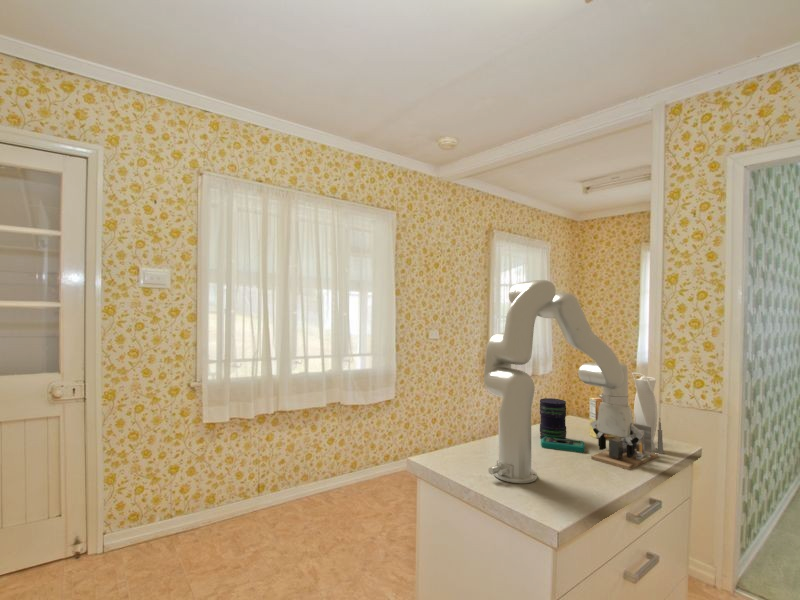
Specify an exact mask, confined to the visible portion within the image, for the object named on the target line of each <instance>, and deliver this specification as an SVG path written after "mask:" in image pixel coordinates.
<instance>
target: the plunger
mask: <svg viewBox="0 0 800 600" xmlns="http://www.w3.org/2000/svg"><path fill="white" fill-rule="evenodd" d="M627 445H628V442H627V441H626V439H625V440H621V439H618V438H615V437H612V438H610V439H608V450H609V457H613V458H616V459H620V458H622V457H623V453H627ZM634 447H635V449H637V445H636V444H634ZM634 455H637V451H635V454H634Z"/></svg>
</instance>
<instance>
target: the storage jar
mask: <svg viewBox="0 0 800 600" xmlns="http://www.w3.org/2000/svg"><path fill="white" fill-rule="evenodd" d="M539 415H540V423H539V434H540V436H539V439H540V440H541V439H542V438H544V437H550V438H558V439H566V440H567V426H566V417H567V401H566V400H564V399H559V398H553V397H552V398H551V397H550V398H548V397H546V398H540V399H539Z"/></svg>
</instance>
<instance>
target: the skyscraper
mask: <svg viewBox="0 0 800 600" xmlns="http://www.w3.org/2000/svg"><path fill="white" fill-rule="evenodd" d="M631 375H632V378H633V381H634V387H635V390H636V392H635V397H634V403H633V419H634V420H633V421H634V424H639V425H644V426H649V427H651V447H652V453H659V454H658V455H665V453H664V442H663V429H662V422H661V417H659V419H658V407H657V405H658V404H657V401H656V396H655V393H654V391H655V386H656V381H657V379H656V378H655V377H651V376H646V375H644V374H643V373H640V372H632V373H631ZM635 375H639V376H640V377H639V378H636V377H635ZM658 420H659V422H658ZM657 427H658V429H657ZM656 431H657V447H656V444H655V442H654V441H655V435H656Z"/></svg>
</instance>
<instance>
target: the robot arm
mask: <svg viewBox="0 0 800 600" xmlns="http://www.w3.org/2000/svg"><path fill="white" fill-rule="evenodd" d="M508 299H509V300H508V301H510V303H511V305H510V306H509V308H508V310H507V312H506V316H505V324H504V331H503V332H498V333H495V334H494V335H492V336H491V337H490V339H489V340H488V341H487V344H486V347H485V348H486V349H485V357H484V358H485V359H484V371H483V372H484V374H483V381H484V386H485V389H486V390H487V392H488V393H490V394H491V395H493V396H495V397H498V398H502V400H501V404H500V407H499V410H498V419H497V420H498V460H496V465H494V466H490V467H489V468H488V470H487V471H488V474H490V475H491V476H492V475H494V476H495V477H496V478H497V479H499V480H501V481H504V482H507V483H512V484H530V483H533V482H535V481H537V479H538V474H537V472H536V471H535V470H534V469H532V410H533V409H532V407H533V401H534V395H535V389H536V387H535V383H534V380H533V377H532V376H530V374H529V373H527V372H525V371H523V370H521V369H516V368H512V365H515V366H516V365H517V366H524V365H526V364H528V363H529V362H530V361H531V359H532V355H533V343H534V342H533V341H534V332H535V331H534V330H535V323H536V319H537V317H539V318H543V319H555V321H556V322H557V324H558V327H559V328H560V330H561V333H562V335H563V338H564V339H565V341H566V343H567V344H568V345H570V346H571V347H572V348H574V349H576V350H578V351H580V352H582V353H583V354H585V355H586V356H588V357H589V358H590V359H591V360H592V361H594V362H591V361H588V362H585V363H583V364H581V365H580V366H579V368H578V370H577V375H578V379H579V380H580V381H581V382H582V383H583V384H585V385H589V386H594V387H600V388H602V394H601V393H600V394H599V396H598V398H602V401H603V402H601V403H600V406H599V412H598V420H596V421H593V422H591V423H590V422H589V425H590V424H591V426H592V428H593V431H594V432H595V433H596V435H597V437H598V438H597V439H598V441H597V443H598V448H599V450H600V451H603V450H605V449H607V437H604V435H605V434H608V435H613V436H615V437H618V438H620V439H621V438H625V439H626V441H627V442H628V445H627V457H628V458H630V457H632V456H633V455H634V454H635V447H634V444H636V443H637V442H638V441H640V439H641V438H642V436H643V435H644V434H643V433H642V432H641V431H640V430H638V429H637V428H636V427H635V426H633V423H634V420H633V419H634V416H633V412H632V409H631V406H630V405H629V381H628V380H629V378H628V377H629V376H628V374H629V373H628V365H627V364H624V363H622V362H620V361H619V358H618V357H617V355H616V354H615V352H614V351H613V349H612V348H611V347H610V346H609V345H608V344H607V343H605V342H604V341H603V340H602V338H600V336H598V335H597V334H596V333H594V332H593V330H592V327H591V325H590V324H589V320H588V319H587V317H586V315H585V313H584V310H583V309H582V306H581V304H580V301H579V300H578V298H577V297H576V296H575V295H574V294H573V293H570V292H557V291H556V286H555V285H554V283H553V282H551V281H549V280H546V279H545V280H544V279H537V280H531V281H522V282H518V283H515V284H513V285H512V286H511V287H510V289H509V290H508ZM597 424H598V428H597ZM633 433H636V437H635V438H633V436H632V435H633Z"/></svg>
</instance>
